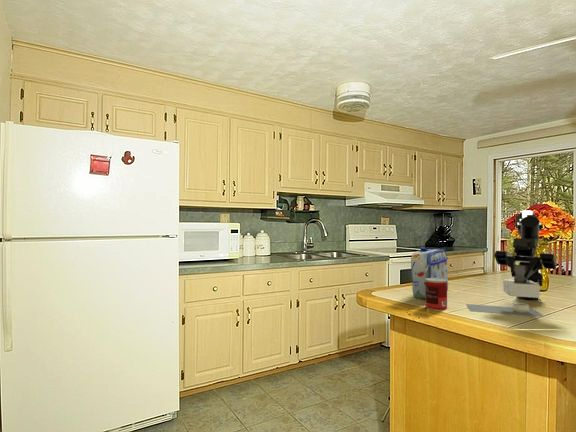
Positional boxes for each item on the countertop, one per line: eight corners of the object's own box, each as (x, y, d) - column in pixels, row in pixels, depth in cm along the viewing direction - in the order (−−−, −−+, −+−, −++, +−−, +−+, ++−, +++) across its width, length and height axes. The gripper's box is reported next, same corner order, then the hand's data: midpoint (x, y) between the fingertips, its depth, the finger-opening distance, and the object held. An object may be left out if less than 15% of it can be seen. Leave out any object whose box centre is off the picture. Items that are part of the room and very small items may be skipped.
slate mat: (470, 312, 126) (470, 311, 126) (465, 304, 137) (465, 303, 137) (545, 318, 118) (545, 317, 118) (534, 309, 129) (534, 308, 129)
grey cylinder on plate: (503, 291, 131) (503, 263, 132) (531, 292, 128) (531, 264, 128) (509, 296, 123) (509, 266, 123) (539, 297, 120) (539, 267, 120)
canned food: (446, 306, 134) (445, 278, 135) (448, 311, 127) (448, 281, 127) (425, 305, 137) (424, 277, 137) (426, 309, 129) (425, 280, 130)
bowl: (523, 309, 128) (522, 302, 128) (532, 313, 123) (532, 305, 123) (510, 309, 128) (510, 302, 128) (519, 313, 123) (519, 305, 123)
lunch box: (434, 303, 139) (433, 249, 139) (408, 300, 145) (407, 248, 146) (450, 293, 161) (450, 245, 161) (427, 290, 167) (427, 244, 167)
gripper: (495, 230, 136) (485, 260, 128) (554, 230, 122) (546, 264, 114) (502, 248, 141) (493, 279, 133) (559, 251, 127) (552, 285, 119)
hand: (519, 276), depth 125 cm, fingers closed on grey cylinder on plate, 4 cm apart
